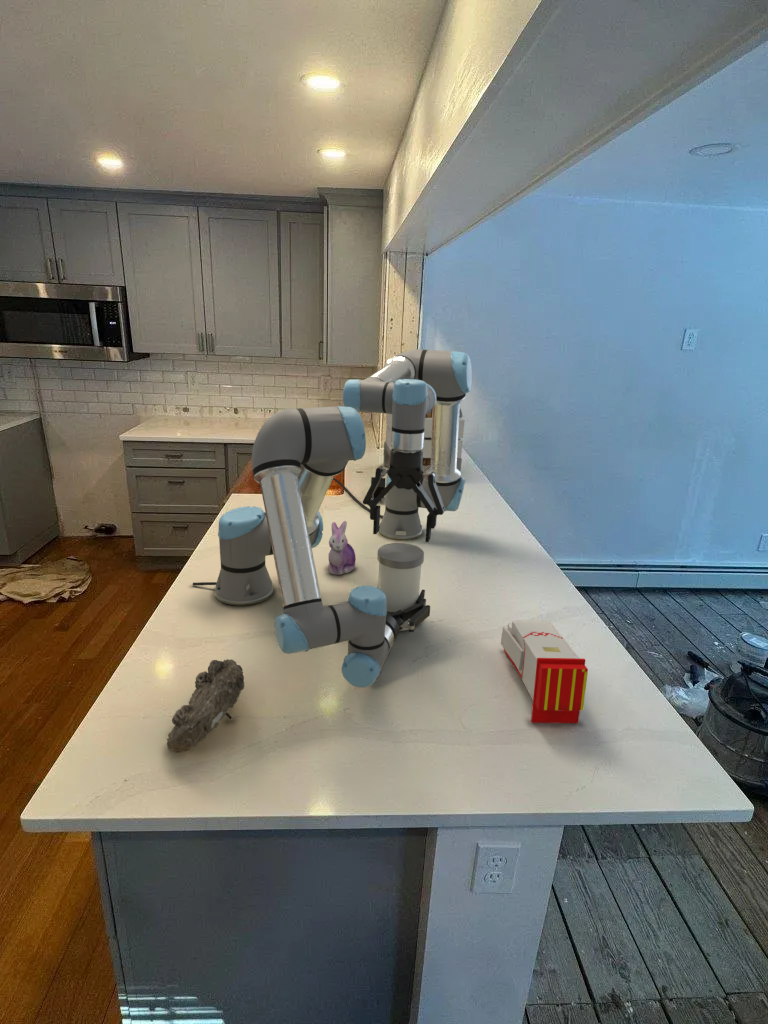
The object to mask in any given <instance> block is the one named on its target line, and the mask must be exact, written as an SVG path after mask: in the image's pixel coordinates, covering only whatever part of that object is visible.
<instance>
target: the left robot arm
mask: <svg viewBox="0 0 768 1024" xmlns="http://www.w3.org/2000/svg"><path fill="white" fill-rule="evenodd" d="M366 438H367V437H366V430H365V426H364V422H363V420H362V417H361V415H360V412H358V411H356V410H355V409H354V408H352V407H345V406H340V405H337V406H319V407H304V408H303V407H299V408H295V407H290V408H284V409H281V410H279V411H277V412H275V413H273V414H272V415H271V416H270V417H268V418H267V419H266V420H265V422H264V423H263V424H262V425H261V427H260V428H259V431H258V433H257V435H256V437H255V439H254V442H253V445H252V450H251V471H252V476H253V479H254V481H255V482H256V483H258V484H259V485H260V490H261V496H262V502H263V507H264V509H262V508H261V507H259V506H249V505H247V506H241V507H237V508H233V509H230V510H228V511H226V512H225V513H224V514H223V515H221V516H220V518H219V520H218V531H217V536H218V540H219V541H218V542H219V543H218V544H219V558H220V559H219V560H220V569H219V573H218V577H217V580H216V581H205V582H204V581H203V582H201V581H199V582H192V586H215V589H214V593H215V598H216V599H217V600H218V601H219V602H221V603H222V604H225V605H230V606H237V607H243V606H245V607H246V606H252V605H256V604H259V603H262V602H264V601H266V600H268V599H269V598H270V597H271V596H273V593H274V586H273V581H272V579H271V576H270V574H269V573H270V572H269V570H268V568H267V566H266V557H268V556H273V560H274V566H275V571H276V576H277V582H278V586H279V592H280V598H281V603H282V609H283V613H282V614H279V615H277V616H276V617H275V619H274V635H275V639H276V643H277V646H278V648H279V650H280V651H281V652H282V653H283V654H287V655H290V654H296V653H301V652H309V651H311V650H314V649H318V648H322V647H326V646H330V645H335V644H340V643H345V642H347V653H346V655H345V656H344V658H343V661H342V664H341V674H342V676H343V678H344V680H345V681H346V682H347V683H348V684H349V685H351V686H353V687H357V688H363V689H364V688H367V687H370V686H372V685H373V684H374V683H375V682H376V680H377V678H378V677H379V676H380V674H381V672H382V668H383V667H384V664H385V662H386V660H387V658H388V657H389V656H388V655H389V653H390V651H391V649H392V647H393V645H394V643H395V641H396V639H397V637H398V634H399V633H400V632H401V631H400V630H401V629H403V628H406V629H409V630H408V632H409V633H414V632H415V630H416V628H417V627H418V626H419V625H420V624H422V623H423V622H424V621H425V620H426V619H427V618H429V617H430V616H431V605H430V604H427V599H426V598H425V594H426V590H425V589H421V591H420V592H419V597H418V599H417V603H416V605H414V606H411V607H409V608H407V609H405V610H403V611H402V610H399V611H396V612H389V611H387V607H386V596H385V593H384V592H383V591H382V590H381V589H379V588H378V586H373V585H359V586H356V587H355V588H352V589H351V590H350V592H349V593H348V598H347V601H343V602H338V603H333V604H328V605H324V604H323V600H322V594H321V590H320V589H321V588H320V585H319V584H320V583H319V579H318V573H317V568H316V563H315V558H314V552H313V549H314V548H316V547H318V546H319V544H320V543H321V541H322V539H323V535H324V533H323V531H324V521H323V517H322V515H321V512H320V511H319V510H320V509H321V506H322V504H323V503H324V499H325V497H326V495H327V493H328V490H329V489H330V487H331V484H332V482H333V481H334V480H333V477H334V478H335V477H336V476H338V475H340V474H342V472H343V471H344V470H345V469H346V467H347V465H348V463H349V461H354V462H356V461H358V460H362V459H363V457H364V456H365V453H366V447H367V439H366ZM407 620H408V621H407ZM405 621H407V622H405Z"/></svg>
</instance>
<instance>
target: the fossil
mask: <svg viewBox="0 0 768 1024" xmlns="http://www.w3.org/2000/svg"><path fill="white" fill-rule="evenodd" d="M243 670H244V669H243V667H242V665H240V664H237V662H236V661H235V660H234V659H232V658H231V659H227V658H226V659H224V660H223V661H222V660H217V659H212V660H211V661H210V663H209V665H208V666H207V671H201V672H199V673H198V674H197V675H196V676H195V680H194V684H195V685H194V687H195V689H194V690H193V693H192V694H191V697H190V698H189V700H188V704H184V705H182V706H181V707H180V709H177V710H176V711H175V713H174V715H173V716H172V718H171V723H172V724H173V727H172V730H171V731H170V732H168V734H167V738H166V741H167V742H166V745H167V749H168V750H169V751H173V752H174V753H176V754H178V753H182V752H188V751H189V752H192V751H193V750H195V748H196V747H197V746H199V744H200V743H201V742H203V741H204V740H205V739H206V738H207V737H208V736H209V735H210V734H211V733H212V732H214V730H215V729H217V727H218V726H219V724H220V722H221V721H222V720H223V719H224V718H225V716H226V717H227V719H229V720H233V717H232V715H230V714H229V710H230V709H231V708H234V706H235V704H236V703H237V702H238V699H239V697H240V695H241V693H242V691H243V690H245V689H244V688H245V675H244V671H243Z"/></svg>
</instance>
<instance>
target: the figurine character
mask: <svg viewBox="0 0 768 1024" xmlns="http://www.w3.org/2000/svg"><path fill="white" fill-rule="evenodd" d="M374 478H375V476H371V478H370V485H371V484H372V482H373V480H374ZM385 487H386V477H382V479H381V481H380V483H379V485H378V487H377V489H376V490H375V492H374V494H373V496H372V498H371V499H372V500H374V499H375V498H376V497H377V496H378V495H379V494H380V493H381V492H382V491H383V490H384V488H385ZM385 499H386V495H385V496H384V497H383V498H382V499H381V501H380V502H379V503H380V504H381V503H382V502H383V500H385Z"/></svg>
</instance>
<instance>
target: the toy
mask: <svg viewBox="0 0 768 1024" xmlns="http://www.w3.org/2000/svg"><path fill="white" fill-rule="evenodd" d="M500 645H501V646H502V648H503V652H504V654H505V655H506V657H507V658H508V660H509V661H510V663H511V664H512V666H513V668H514V669H515V671H516V672H517V674H518V676H519V677H520V679H521V680H522V683H523V685H524V686H525V688H526V690H527V692H528V694H529V696H530V697H531V699H532V708H531V719H530V722H531V723H532V724H579V719H580V712H583V711H584V706H585V697H586V689H587V680H588V671H589V669H588V667H587V666H586V659H585V658H580V657H579V656H578V655H577V654H576V652H575V651H574V650H573V648H572V647H571V646H570V645H569V644H568V642H567V641H566V640H565V638H564V637H563V636H562V634H561V633H560V632H559V631H558V630H557V628H556V627H555V626H554V624H553V623H552V622H551V621H549V620H548V621H545V620H540V621H539V620H511V622H508V623H507V626H502V632H501V638H500Z"/></svg>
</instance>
